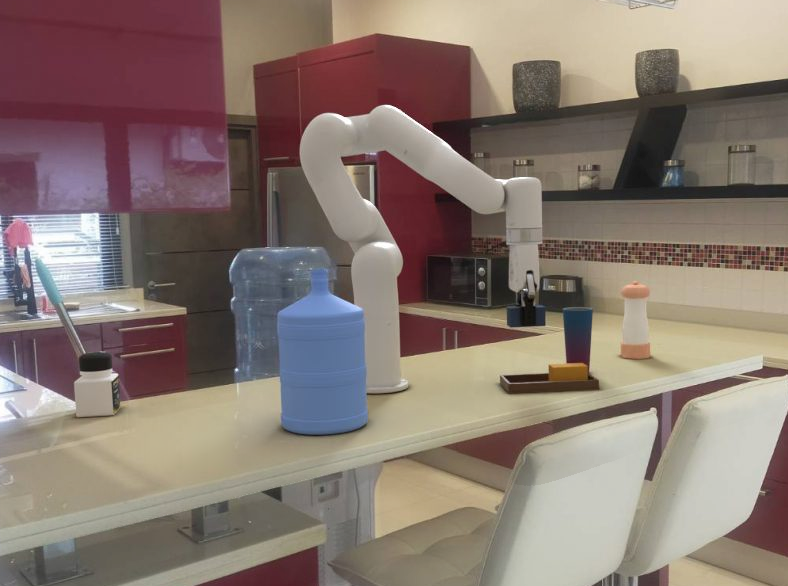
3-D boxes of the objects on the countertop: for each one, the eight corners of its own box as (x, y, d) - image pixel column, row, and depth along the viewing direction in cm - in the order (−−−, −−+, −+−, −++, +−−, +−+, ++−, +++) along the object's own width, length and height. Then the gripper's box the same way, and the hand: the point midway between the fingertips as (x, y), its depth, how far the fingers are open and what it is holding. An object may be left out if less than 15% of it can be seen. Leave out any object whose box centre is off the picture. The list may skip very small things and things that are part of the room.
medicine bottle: (114, 415, 168) (110, 354, 167) (76, 417, 167) (71, 356, 165) (121, 407, 175) (117, 349, 174) (84, 409, 174) (80, 351, 172)
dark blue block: (510, 327, 180) (509, 308, 180) (506, 325, 184) (506, 306, 184) (545, 326, 181) (545, 307, 180) (541, 323, 185) (541, 305, 184)
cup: (591, 370, 201) (591, 306, 200) (594, 376, 195) (594, 310, 193) (562, 370, 202) (561, 307, 200) (564, 376, 195) (563, 310, 194)
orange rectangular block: (553, 386, 183) (552, 367, 182) (548, 382, 187) (548, 364, 186) (587, 384, 183) (587, 366, 183) (582, 380, 187) (582, 362, 187)
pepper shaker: (655, 355, 219) (655, 280, 217) (641, 359, 214) (641, 282, 212) (629, 353, 224) (629, 279, 222) (615, 357, 219) (615, 281, 216)
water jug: (384, 427, 153) (379, 269, 150) (302, 441, 145) (295, 275, 142) (344, 411, 167) (339, 266, 163) (267, 423, 158) (260, 271, 155)
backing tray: (508, 393, 179) (508, 384, 179) (500, 383, 189) (499, 374, 189) (599, 389, 181) (599, 380, 180) (585, 380, 191) (585, 371, 190)
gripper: (499, 236, 188) (501, 320, 190) (514, 239, 172) (516, 330, 174) (533, 235, 189) (535, 318, 191) (551, 237, 172) (552, 328, 174)
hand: (525, 323), depth 182 cm, fingers closed on dark blue block, 4 cm apart
